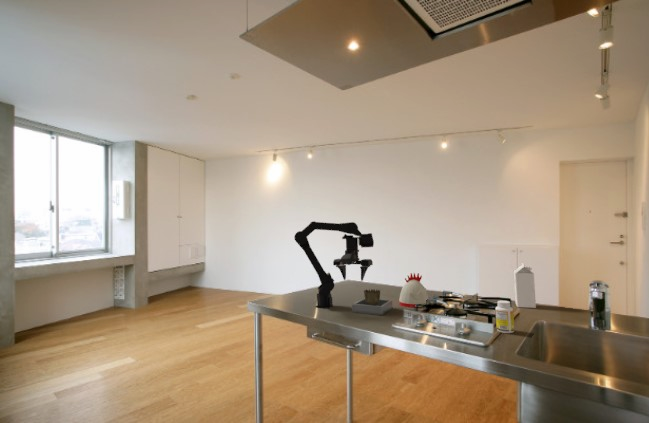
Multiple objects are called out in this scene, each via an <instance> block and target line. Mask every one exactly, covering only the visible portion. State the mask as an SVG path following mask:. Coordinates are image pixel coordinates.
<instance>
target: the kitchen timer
mask: <svg viewBox="0 0 649 423" xmlns="http://www.w3.org/2000/svg"><path fill="white" fill-rule="evenodd" d="M422 278H423V276H422V275H420V273H417V275H416V273H415V272H413V274H412V272H411V273H410V275H407V278H406V277H404V280H405V283H404V285H403V286H402V288H401V290H400V293H399V302H398V305H399V306H401V307H405V308H414V307H415V305H417V304H425V303H426V300H427V299H429V300H430V298H429V295H428V291H427V288H426V287H425V286H424V285H423V284H422V283H421V280H422ZM407 279H408V280H407ZM414 309H415V308H414Z"/></svg>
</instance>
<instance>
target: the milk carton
mask: <svg viewBox="0 0 649 423" xmlns="http://www.w3.org/2000/svg"><path fill="white" fill-rule="evenodd" d="M513 284H514V297H515V298H514V300H515V301H514V302H515V305H516V307H517V308H527V309H529V308H530V309H536V308H537V303H536V302H537V300H536V289H535V288H536V286H535V285H536V284H535V274H534V272H532V267H530V266H529V265H527V266H525V263H523V262H521V265H520V266H519V267H517V268H516V269H515V270H513Z"/></svg>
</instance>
